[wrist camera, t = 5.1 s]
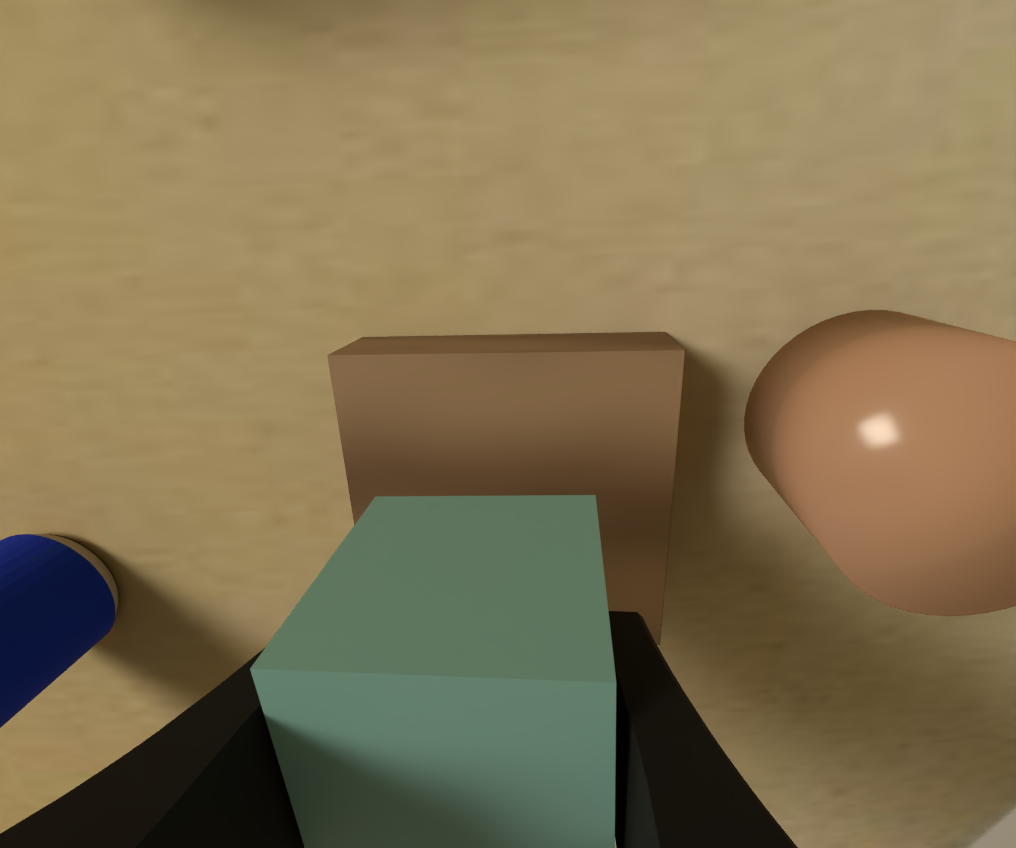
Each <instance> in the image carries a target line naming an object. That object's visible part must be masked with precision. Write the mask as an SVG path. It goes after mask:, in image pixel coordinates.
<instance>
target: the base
mask: <svg viewBox="0 0 1016 848" xmlns="http://www.w3.org/2000/svg"><path fill="white" fill-rule="evenodd" d="M327 356H328V362H329V368H330V375H331V381H332V387H333V393H334V400H335V406H336V412H337V418H338V425H339V431H340V437H341V444H342V450H343V456H344V462H345V469H346V475H347V481H348V487H349V494H350V500H351V506H352V512H353V519H354V525H355V524H356V523H357V521H358V520H359V518H360V517H361V516H362V514H363V513H364V512H365V510H366V509H367V507H368V506H369V505H370V503H371V502H372V501H373V499H374V498H375V496H525V495H596V503H597V512H598V521H599V530H600V540H601V549H602V558H603V567H604V576H605V585H606V594H607V603H608V611H625V612H638V613H639V614H640V615H641V616H642V617H643V618H644V621H645V623H646V625H647V627H648V629H649V631H650V633H651V635H652V637H653V639H654V641H655V643H656V645H660V638H661V627H662V615H663V603H664V591H665V580H666V568H667V556H668V544H669V532H670V521H671V509H672V497H673V485H674V474H675V462H676V450H677V438H678V426H679V415H680V403H681V391H682V379H683V368H684V356H685V350H684V349H683V348H682V347H681V346H680V345H679V344H678V343H677V342H676V341H674V340H673V339H672V338H671V337H670V336H669V335H668V334H667V333H666V332H632V333H576V334H519V335H463V336H406V337H362V338H360V339H358V340H356V341H354V342H352V343H350V344H348V345H346V346H345V347H343V348H341V349H339V350H337V351H335V352H333V353H331V354H329V355H327Z"/></svg>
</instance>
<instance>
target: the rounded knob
mask: <svg viewBox="0 0 1016 848" xmlns="http://www.w3.org/2000/svg"><path fill="white" fill-rule="evenodd" d="M744 432H745V440H746V444H747V447H748V451H749V453H750V455H751V457H752V460H753V462H754V463H755V465H756V466H757V468H758V469H759V471H760V472H761V473H762V475H763V476H764V477H765V478H766V479H767V481H768V482H769V483H770V484H771V486H772V487H773V488H774V489H775V490H776V492H777V493H778V494H779V495H780V497H781V498H782V499H783V500H784V501H785V503H786V504H787V505H788V506H789V508H790V509H791V510H792V511H793V512H794V514H795V515H796V516H797V517H798V519H799V520H800V521H801V522H802V523H803V525H804V526H805V527H806V528H807V530H808V531H809V532H810V533H811V534H812V536H813V537H814V538H815V539H816V541H817V542H818V543H819V544H820V546H821V547H822V548H823V549H824V550H825V552H826V553H827V554H828V555H829V557H830V558H831V559H832V560H833V561H834V563H835V564H836V565H837V566H838V568H839V569H840V570H841V571H842V572H843V573H844V575H845V576H846V577H847V578H848V579H849V580H850V581H851V582H852V583H853V584H854V585H855V586H857V587H858V588H859V589H861V590H862V591H863V592H864V593H866V594H868V595H869V596H871V597H873V598H875V599H876V600H878V601H880V602H882V603H885V604H887V605H890V606H892V607H895V608H898V609H902V610H905V611H909V612H914V613H920V614H926V615H939V616H962V615H973V614H981V613H988V612H992V611H997V610H1002V609H1006V608H1010V607H1013V606H1016V341H1012V340H1008V339H1004V338H1000V337H996V336H992V335H988V334H984V333H980V332H976V331H972V330H968V329H964V328H960V327H956V326H952V325H948V324H945V323H941V322H937V321H933V320H929V319H925V318H921V317H917V316H913V315H909V314H905V313H901V312H895V311H887V310H866V311H857V312H851V313H847V314H843V315H839V316H836V317H833V318H830V319H827V320H825V321H822V322H820V323H818V324H816V325H814V326H812V327H810V328H808V329H807V330H805V331H803V332H802V333H800V334H799V335H797V336H796V337H794V338H793V339H792V340H791V341H789V342H788V343H787V344H785V345H784V346H783V347H782V348H781V349H780V350H779V351H778V352H777V353H776V354H775V355H774V356H773V357H772V358H771V360H770V361H769V362H768V363H767V365H766V366H765V367H764V368H763V370H762V372H761V373H760V375H759V376H758V378H757V380H756V382H755V384H754V386H753V388H752V390H751V392H750V396H749V399H748V402H747V405H746V411H745V417H744Z"/></svg>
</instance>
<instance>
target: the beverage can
mask: <svg viewBox="0 0 1016 848" xmlns="http://www.w3.org/2000/svg"><path fill="white" fill-rule="evenodd" d="M117 607H118V590H117V586H116V583H115V581H114V579H113V576H112V575H111V573H110V571H109V570H108V568H107V567H106V566H105V565H104V563H103V562H102V561H101V560H100V559H99V558H98V557H97V556H96V555H94V554H93V553H92V552H91V551H89V550H88V549H86V548H85V547H83V546H82V545H80V544H78V543H76V542H74V541H72V540H69V539H66V538H63V537H59V536H55V535H46V534H23V535H15V536H10V537H7V538H5V539H3V540H1V541H0V728H1V727H2V726H3V725H4V724H5V723H6V722H7V721H9V720H10V719H11V718H12V717H13V716H14V715H15V714H17V713H18V712H19V711H20V710H21V709H22V708H23V707H25V706H26V705H27V704H28V703H29V702H30V701H31V700H33V699H34V698H35V697H36V696H37V695H38V694H39V693H41V692H42V691H43V690H44V689H45V688H46V687H47V686H48V685H50V684H51V683H52V682H53V681H54V680H55V679H56V678H58V677H59V676H60V675H61V674H62V673H63V672H64V671H66V670H67V669H68V668H69V667H70V666H71V665H72V664H74V663H75V662H76V661H77V660H78V659H79V658H80V657H81V656H83V655H84V654H85V653H86V652H87V651H88V650H89V649H91V648H92V647H93V646H94V645H95V644H96V643H97V642H99V641H100V640H101V639H102V638H103V637H104V636H105V635H106V634H107V633H108V632H109V631H110V629H111V628H112V626H113V623H114V620H115V616H116V612H117Z"/></svg>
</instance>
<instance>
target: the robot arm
mask: <svg viewBox="0 0 1016 848" xmlns="http://www.w3.org/2000/svg"><path fill="white" fill-rule="evenodd" d="M608 612H609V621H610V630H611V639H612V648H613V657H614V666H615V675H616V765H615V839H616V846H617V848H798V847H797V846H796V845H795V844H794V843H793V841H792V840H791V839H790V838H789V836H788V835H787V834H786V833H785V831H784V830H783V829H782V828H781V826H780V825H779V824H778V823H777V822H776V820H775V819H774V818H773V817H772V815H771V814H770V813H769V811H768V810H767V809H766V808H765V806H764V805H763V804H762V802H761V801H760V800H759V799H758V797H757V796H756V795H755V793H754V792H753V791H752V789H751V788H750V787H749V785H748V784H747V783H746V781H745V780H744V779H743V777H742V776H741V775H740V773H739V772H738V770H737V769H736V768H735V766H734V765H733V763H732V762H731V761H730V759H729V758H728V757H727V755H726V754H725V752H724V751H723V750H722V748H721V747H720V745H719V744H718V742H717V741H716V740H715V738H714V737H713V735H712V734H711V732H710V731H709V729H708V728H707V726H706V725H705V723H704V722H703V720H702V719H701V717H700V716H699V714H698V713H697V711H696V709H695V708H694V706H693V705H692V703H691V702H690V700H689V699H688V697H687V696H686V694H685V693H684V691H683V689H682V688H681V686H680V684H679V683H678V681H677V680H676V678H675V676H674V675H673V673H672V671H671V669H670V668H669V666H668V664H667V662H666V661H665V659H664V657H663V656H662V654H661V652H660V650H659V648H658V646H657V645H656V643H655V641H654V639H653V637H652V635H651V633H650V631H649V629H648V627H647V625H646V623H645V621H644V618H643V617H642V616H641V615H640V614H639V613H638V612H625V611H608ZM265 648H266V647H265ZM265 648H264V649H265ZM264 649H263V650H264ZM263 650H262V651H261V652H259V653H258V654H257V655H256V656H254V657H253V658H252V659H251V660H249V661H248V662H247V663H246V664H245V665H243V666H242V667H241V668H240V669H238V670H237V671H236V672H235V673H233V674H232V675H231V676H230V677H229V678H227V679H226V680H225V681H224V682H222V683H221V684H220V685H219V686H217V687H216V688H215V689H213V690H212V691H211V692H209V693H208V694H207V695H205V696H204V697H203V698H201V699H200V700H199V701H197V702H196V703H195V704H193V705H192V706H191V707H190V708H188V709H187V710H186V711H184V712H183V713H182V714H180V715H179V716H178V717H176V718H175V719H174V720H172V721H171V722H170V723H168V724H167V725H166V726H164V727H163V728H162V729H161V730H159V731H158V732H156V733H155V734H154V735H152V736H151V737H149V738H148V739H147V740H145V741H144V742H143V743H141V744H140V745H138V746H137V747H135V748H134V749H132V750H131V751H130V752H128V753H127V754H125V755H124V756H122V757H121V758H120V759H118V760H117V761H115V762H114V763H112V764H111V765H109V766H108V767H106V768H105V769H103V770H102V771H100V772H99V773H97V774H96V775H94V776H93V777H91V778H90V779H88V780H87V781H85V782H84V783H82V784H80V785H79V786H77V787H76V788H74V789H73V790H71V791H70V792H68V793H67V794H65V795H63V796H62V797H60V798H59V799H57V800H55V801H54V802H52V803H51V804H49V805H47V806H46V807H44V808H42V809H41V810H39V811H37V812H36V813H34V814H32V815H31V816H29V817H27V818H26V819H24V820H22V821H21V822H19V823H17V824H16V825H14V826H12V827H11V828H9V829H8V830H6V831H4V832H3V833H1V834H0V848H304V843H303V840H302V837H301V834H300V830H299V827H298V824H297V821H296V817H295V814H294V811H293V807H292V804H291V801H290V798H289V794H288V791H287V788H286V785H285V781H284V778H283V775H282V772H281V768H280V765H279V762H278V759H277V755H276V752H275V749H274V745H273V742H272V739H271V736H270V732H269V729H268V726H267V723H266V719H265V716H264V713H263V710H262V706H261V703H260V700H259V697H258V693H257V690H256V687H255V684H254V680H253V677H252V674H251V670H250V668H251V667H252V665H253V664H254V663H255V661H256V660H257V659H258V657H259V656H260V654H261V653H262V652H263Z"/></svg>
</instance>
